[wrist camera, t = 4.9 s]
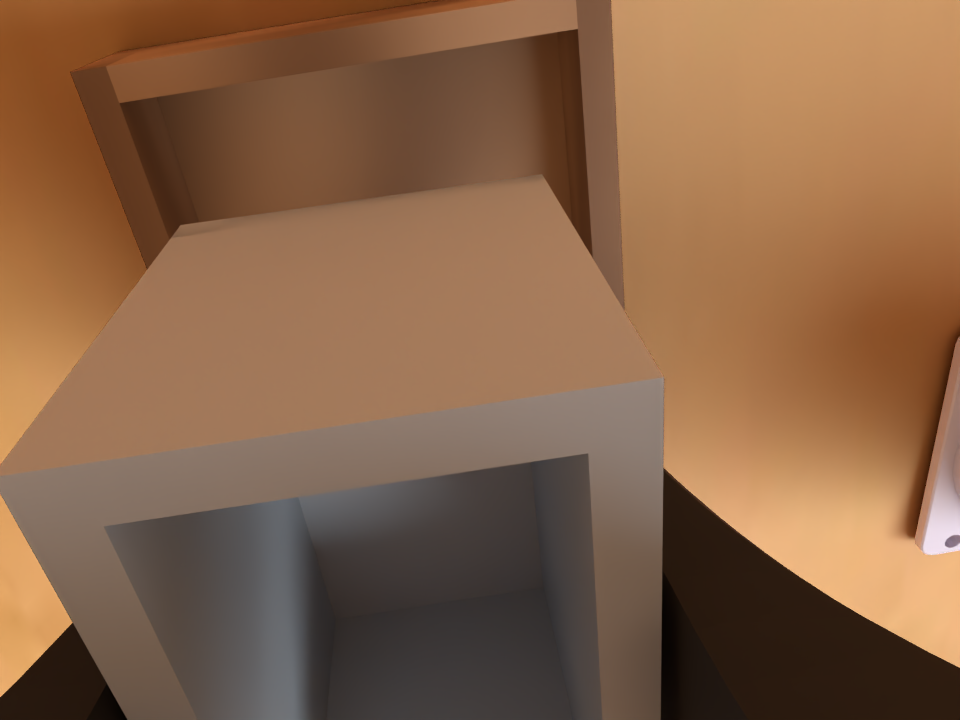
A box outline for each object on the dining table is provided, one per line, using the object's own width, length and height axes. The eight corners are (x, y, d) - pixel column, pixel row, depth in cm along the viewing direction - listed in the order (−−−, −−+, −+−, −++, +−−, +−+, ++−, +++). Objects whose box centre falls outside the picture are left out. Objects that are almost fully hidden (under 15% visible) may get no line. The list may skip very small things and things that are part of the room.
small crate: (542, 174, 10) (664, 377, 6) (572, 584, 14) (658, 906, 10) (180, 225, 10) (-9, 477, 5) (312, 624, 14) (269, 972, 9)
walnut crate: (578, -23, 15) (610, -15, 13) (608, 461, 21) (633, 522, 19) (117, 51, 15) (70, 72, 13) (283, 518, 21) (270, 585, 19)
